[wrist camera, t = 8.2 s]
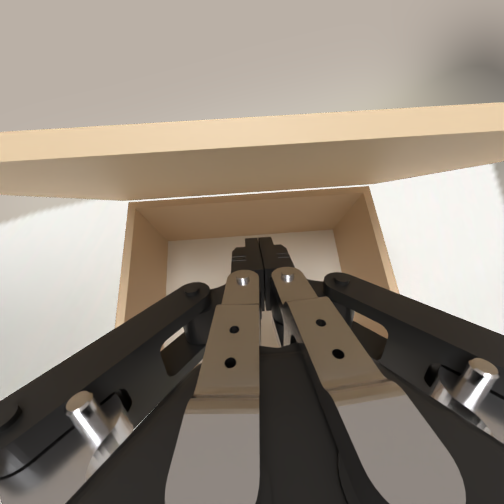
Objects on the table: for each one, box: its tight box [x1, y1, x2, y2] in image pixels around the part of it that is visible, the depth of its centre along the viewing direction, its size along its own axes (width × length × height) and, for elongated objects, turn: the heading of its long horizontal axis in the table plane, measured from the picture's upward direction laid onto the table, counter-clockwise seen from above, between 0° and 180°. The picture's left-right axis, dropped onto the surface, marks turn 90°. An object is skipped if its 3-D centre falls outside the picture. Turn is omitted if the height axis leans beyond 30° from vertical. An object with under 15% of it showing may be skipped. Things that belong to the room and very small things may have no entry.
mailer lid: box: [0, 102, 504, 201], centre depth 11 cm, size 21×14×1 cm
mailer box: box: [115, 186, 399, 368], centre depth 20 cm, size 20×14×8 cm
